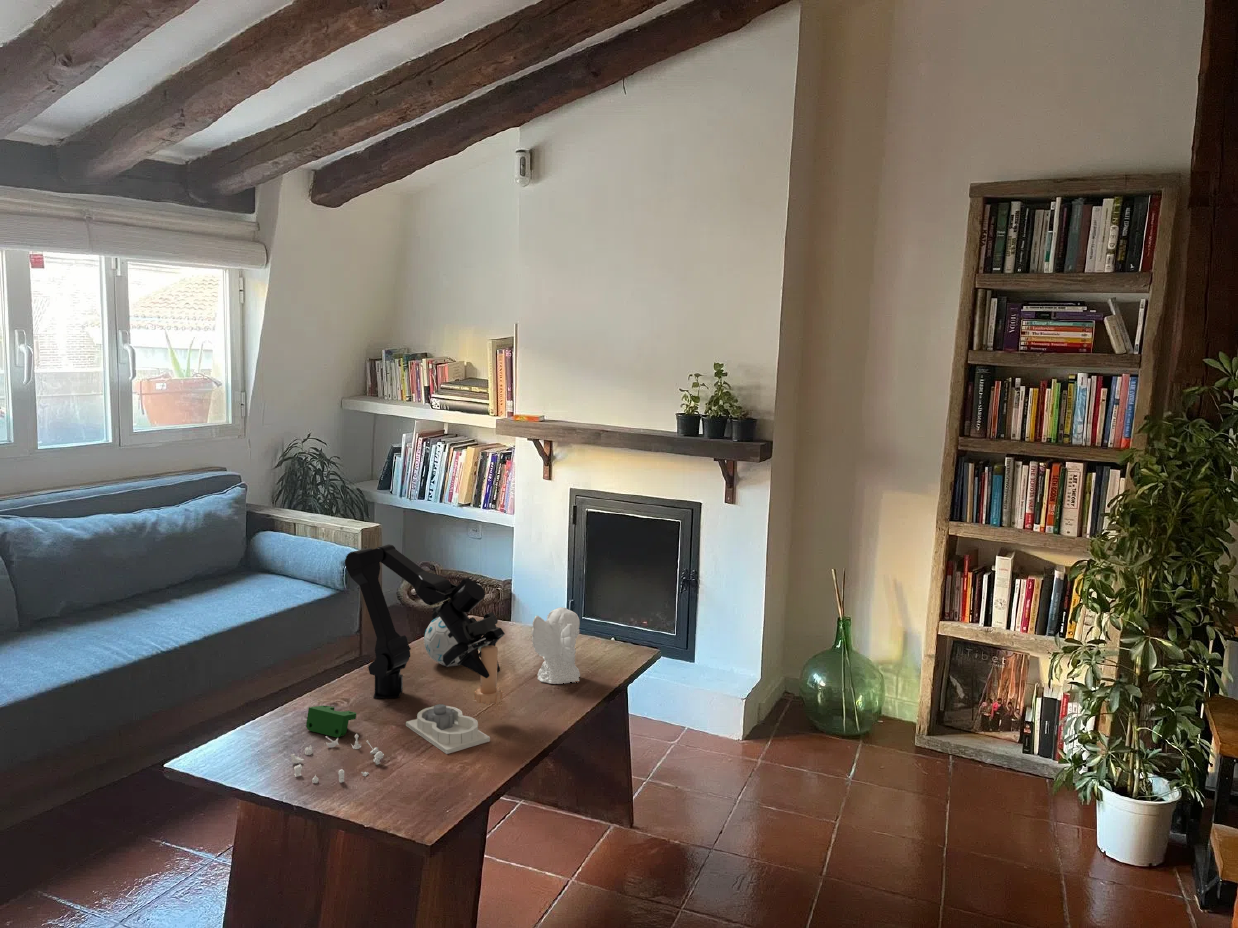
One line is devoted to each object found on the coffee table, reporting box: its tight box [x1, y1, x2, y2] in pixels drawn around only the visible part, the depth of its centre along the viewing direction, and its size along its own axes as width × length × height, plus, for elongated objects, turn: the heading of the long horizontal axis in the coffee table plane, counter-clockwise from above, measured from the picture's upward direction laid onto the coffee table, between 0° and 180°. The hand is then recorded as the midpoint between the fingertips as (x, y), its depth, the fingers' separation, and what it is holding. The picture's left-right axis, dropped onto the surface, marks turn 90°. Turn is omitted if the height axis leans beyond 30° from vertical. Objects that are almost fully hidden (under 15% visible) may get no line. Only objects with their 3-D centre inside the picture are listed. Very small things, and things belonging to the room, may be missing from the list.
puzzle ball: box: [423, 617, 477, 667], centre depth 269 cm, size 15×15×15 cm
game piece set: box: [289, 733, 385, 784], centre depth 207 cm, size 19×20×4 cm
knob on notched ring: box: [473, 645, 503, 705], centre depth 230 cm, size 7×7×13 cm
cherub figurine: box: [531, 606, 581, 685], centre depth 260 cm, size 13×12×20 cm
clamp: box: [305, 705, 357, 738], centre depth 224 cm, size 11×6×8 cm, turn 61°
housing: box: [405, 703, 491, 755], centre depth 224 cm, size 19×12×6 cm, turn 41°
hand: (493, 674), depth 229 cm, fingers closed on knob on notched ring, 4 cm apart
